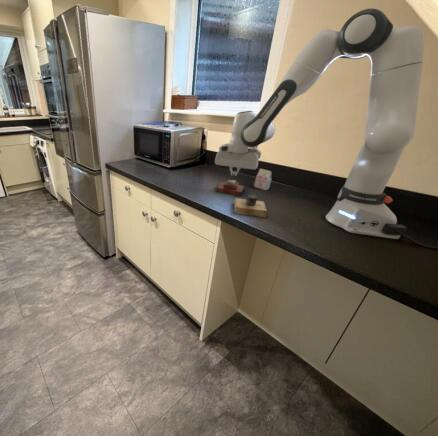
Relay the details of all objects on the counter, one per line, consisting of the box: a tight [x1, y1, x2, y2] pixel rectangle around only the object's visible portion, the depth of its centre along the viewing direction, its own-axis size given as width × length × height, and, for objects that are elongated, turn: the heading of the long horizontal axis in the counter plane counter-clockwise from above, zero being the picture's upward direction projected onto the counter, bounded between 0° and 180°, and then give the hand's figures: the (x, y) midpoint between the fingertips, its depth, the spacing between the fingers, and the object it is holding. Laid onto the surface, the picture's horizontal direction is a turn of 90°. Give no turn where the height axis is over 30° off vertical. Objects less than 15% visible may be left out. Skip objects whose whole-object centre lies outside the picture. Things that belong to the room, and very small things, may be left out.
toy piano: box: [215, 180, 245, 197], centre depth 122 cm, size 12×10×4 cm
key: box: [227, 179, 237, 185], centre depth 120 cm, size 4×4×2 cm
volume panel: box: [233, 197, 268, 218], centre depth 101 cm, size 12×10×3 cm
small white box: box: [253, 168, 273, 191], centre depth 124 cm, size 4×7×10 cm, turn 33°
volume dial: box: [246, 194, 258, 206], centre depth 100 cm, size 4×4×4 cm
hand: (233, 175), depth 118 cm, fingers closed
